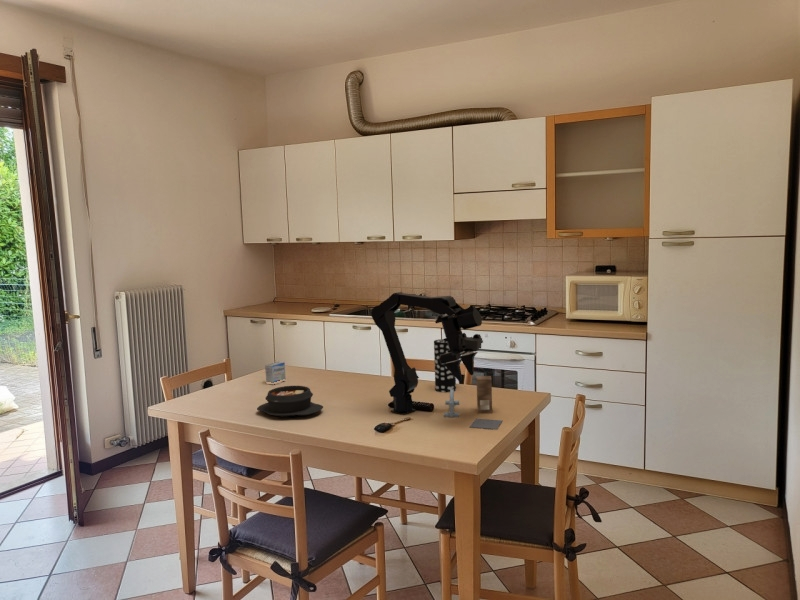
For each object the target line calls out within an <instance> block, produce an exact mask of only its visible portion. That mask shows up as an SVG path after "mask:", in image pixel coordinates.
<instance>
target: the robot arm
mask: <svg viewBox="0 0 800 600" xmlns="http://www.w3.org/2000/svg"><path fill="white" fill-rule="evenodd" d="M401 305H402V306H408V307H413V308H414V307H415V308H421V309H427V310H429V311H430V312H432V313H435V314H437V315H438V316H437V318H436V320H435V321H434V323H435V324H440V323H441V326H442V329H443V332H444V335H445V338H443V339H444V341H445V342H446V341H447V343H448V347H449V350H448V351H447V352H448V353H445V354H442V355H440V358H439V360H440V363H441V364H443V363H444V364H443V365H444V366H446V367H447V368H448V369H449V370H450V372H451V373H452V374H453V375H454V376H455V377H456V381H458V382H462V381H463V376H462V375H463V374H462V370H461V369H462V368H461V363H463V364H462V365H463V366H464V367H465V369H466V371H467V372H468V373H469V375H470V376H473V375H475V374H474V373H475V372H474V370H475V367H474V364H475V363H474V362H475V361H474V360H475V357H476V355H477V354H478V351H480V350H479V349H482V344H483V343H484V340H483V337H482V336H481V334H478V333H475V334H473V336H470V337H469V336H467V333H466V332H463V330H464V331H465V330H466V331H467V330H469V329H473V328H476V327H480V326H481V325H482V324H483V317H482V314H480V312H479V310H478V309H477V307H476V305H472V306H469V307H467V308H463V307H462V306H461V305H460V304H459V303H457V302H456V299H455V297H453V296H451V295H441V296H440V295H439V296H427V295H418V294H411V293H406V292H403V291H398V292H393V293H392V294H391V295H389V297H388V298H386V299H385V300H383V301H381V303H380V304H378V305H376V306H374V307H372V309H371V312H370V315H371V319H372V320H373V322H374V324H375V325H376V327H378V329H380V331H381V333H382V336H383V338H384V342H385V345H386V348H387V351H388V353H389V356H390V358H391V362H392V365H393V368H394V372H393V380H394V381H393V382H394V385H393V386H392V387H391V388H390V389H389V391H388V392H389V395H390V397H392V398H393V399H392V400H393V409H391V410H390V412H392V413H394V414H399V415H406V414H409V413H412V412H415V411H416V409H415V408H413V398H412V393H414V392H415V389H416V388H417V386H418V384H419V378H420V377H419V375H418V373H417V370H416V367H412V368H411V366H410V365H409V364H408V362H407V359H406V356H405V353H404V351H403V347H402V343H401V342H400V338H399V336H398V332H397V329H396V327H395V326H396V315H395V313H396V312H397V311H398V310H399V308H400V307H401ZM453 315H454V316H453ZM455 315H456V316H455Z"/></svg>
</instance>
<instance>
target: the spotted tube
mask: <svg viewBox="0 0 800 600" xmlns="http://www.w3.org/2000/svg"><path fill="white" fill-rule="evenodd" d="M444 339H445V338H443V339H442V338H440V339H435V340H433V350H434V352H433V358H434V384H435V386H434V390H435V391H436V392H439V393H450V389H454V392H455V391H457V382H456V381H457V378H456V377H455V376H454V375H453V374H452V373H451V372H450V370H449V369H448V368H447V367H446V366H444V365H443V364H444V363H443V364H441V363H440V360H439V358H440V355H442V354H445V353H448V352H447V351H448V350H449V347H448V343H447V341H446V342H445V341H444Z"/></svg>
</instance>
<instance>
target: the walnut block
mask: <svg viewBox="0 0 800 600" xmlns="http://www.w3.org/2000/svg"><path fill="white" fill-rule="evenodd" d="M492 382H493V381H492V376H491V375H476V402H477V403H476V408H477V414H493V395H492V394H493V391H492V390H493V385H492Z"/></svg>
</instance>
